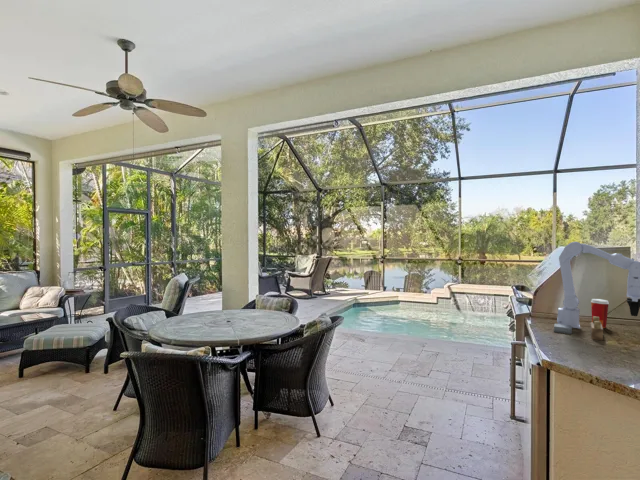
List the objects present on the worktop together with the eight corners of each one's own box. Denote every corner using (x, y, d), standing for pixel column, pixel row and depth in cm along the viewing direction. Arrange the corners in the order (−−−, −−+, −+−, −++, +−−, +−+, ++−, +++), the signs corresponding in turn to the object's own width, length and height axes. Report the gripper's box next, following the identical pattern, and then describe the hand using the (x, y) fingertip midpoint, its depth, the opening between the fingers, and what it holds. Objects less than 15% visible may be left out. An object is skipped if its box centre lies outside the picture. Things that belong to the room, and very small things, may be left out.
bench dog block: (591, 338, 160) (592, 321, 160) (590, 332, 172) (590, 315, 172) (602, 340, 158) (603, 323, 158) (600, 333, 170) (601, 317, 169)
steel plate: (554, 332, 172) (554, 326, 172) (554, 329, 177) (554, 323, 177) (571, 334, 168) (571, 328, 168) (571, 331, 173) (571, 325, 173)
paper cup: (601, 325, 186) (602, 298, 186) (612, 329, 178) (613, 301, 178) (586, 324, 187) (586, 298, 186) (595, 328, 179) (596, 301, 179)
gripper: (647, 288, 159) (646, 318, 159) (646, 285, 170) (644, 313, 170) (626, 287, 164) (625, 316, 164) (626, 284, 174) (625, 311, 175)
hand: (634, 314), depth 167 cm, fingers open, 7 cm apart
